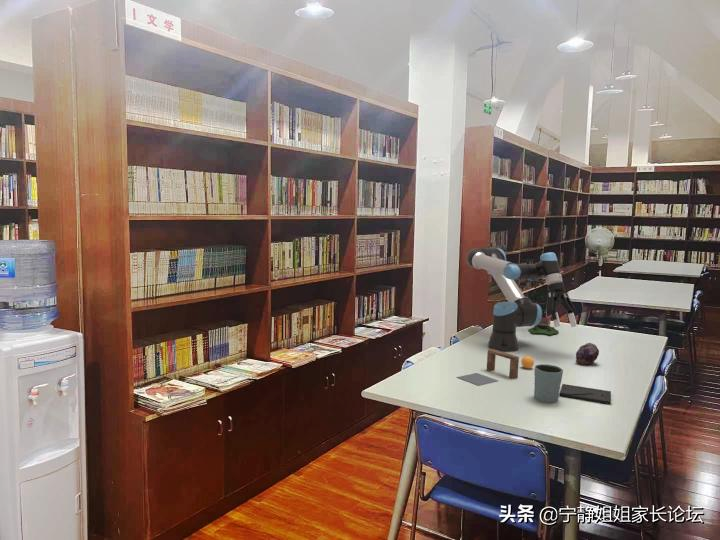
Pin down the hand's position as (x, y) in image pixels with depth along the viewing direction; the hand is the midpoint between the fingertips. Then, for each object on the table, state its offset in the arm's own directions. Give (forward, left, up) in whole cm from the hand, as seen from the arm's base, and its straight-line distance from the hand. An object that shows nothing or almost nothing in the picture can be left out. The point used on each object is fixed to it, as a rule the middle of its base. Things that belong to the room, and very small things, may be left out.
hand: (566, 326), depth 253 cm
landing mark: (0, -58, -16) cm, 61 cm away
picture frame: (+35, -36, -17) cm, 53 cm away
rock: (+9, +6, -17) cm, 20 cm away
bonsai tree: (-44, +38, -17) cm, 60 cm away
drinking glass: (+30, -53, -17) cm, 63 cm away
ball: (0, -26, -14) cm, 30 cm away
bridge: (0, -43, -16) cm, 46 cm away
